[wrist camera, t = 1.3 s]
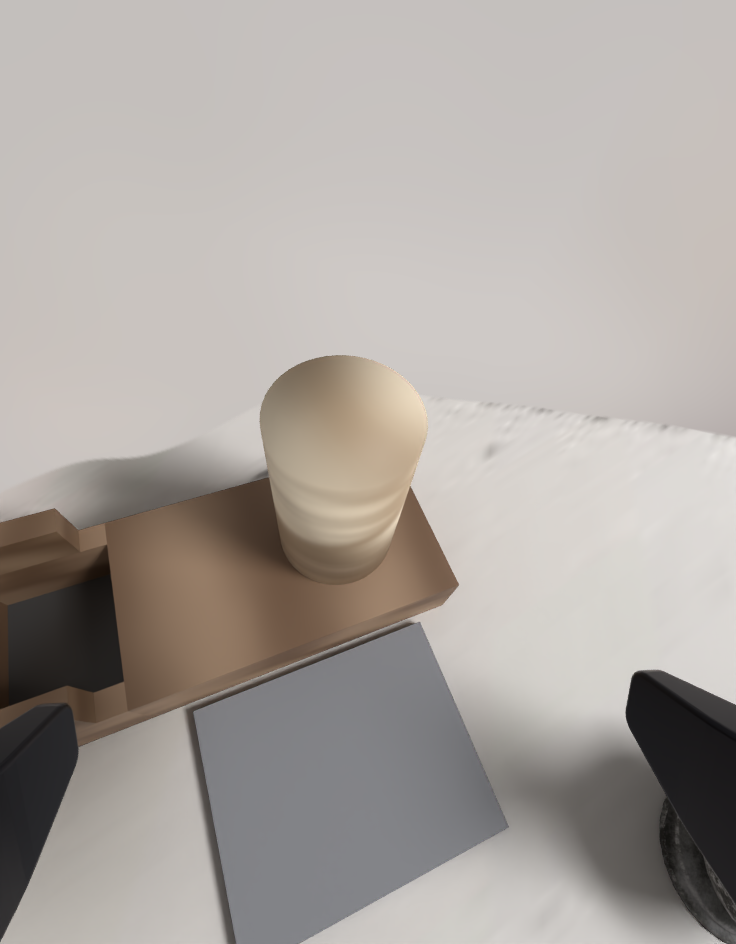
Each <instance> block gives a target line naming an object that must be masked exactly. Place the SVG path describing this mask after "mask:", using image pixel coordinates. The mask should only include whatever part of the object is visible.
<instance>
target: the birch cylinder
mask: <svg viewBox="0 0 736 944" xmlns="http://www.w3.org/2000/svg"><path fill="white" fill-rule="evenodd" d="M260 429H261V435H262V440H263V446H264V451H265V457H266V462H267V468H268V473H269V479H270V485H271V490H272V496H273V501H274V507H275V512H276V518H277V523H278V529H279V534H280V540H281V545H282V548H283V551H284V553H285V555H286V557H287V559H288V560H289V562H290V563H291V564H292V566H293V567H294V568H295V569H296V570H297V571H298V572H300V573H301V574H302V575H304V576H305V577H307V578H309V579H311V580H313V581H316V582H319V583H323V584H330V585H343V584H348V583H352V582H356V581H358V580H360V579H363V578H365V577H366V576H368V575H369V574H371V573H372V572H373V571H374V570H376V569H377V567H378V566H379V565H380V564H381V563H382V561H383V560H384V558H385V556H386V554H387V552H388V550H389V547H390V544H391V541H392V538H393V535H394V532H395V529H396V526H397V523H398V520H399V517H400V514H401V511H402V508H403V505H404V502H405V499H406V496H407V494H408V491H409V488H410V485H411V482H412V479H413V476H414V473H415V470H416V467H417V464H418V461H419V458H420V455H421V452H422V449H423V446H424V443H425V440H426V436H427V429H428V422H427V414H426V410H425V407H424V404H423V402H422V400H421V398H420V396H419V394H418V393H417V392H416V390H415V389H414V388H413V386H412V385H411V384H410V383H409V382H408V381H407V380H406V379H405V378H403V377H402V376H401V375H400V374H398V373H397V372H395V371H394V370H392V369H390V368H389V367H387V366H385V365H383V364H380V363H378V362H375V361H372V360H369V359H366V358H360V357H355V356H346V355H342V356H341V355H336V356H325V357H320V358H315V359H312V360H308V361H305V362H303V363H301V364H298V365H296V366H295V367H293V368H291V369H289V370H288V371H287V372H285V373H284V374H283V375H281V376H280V377H279V378H278V379H277V380H276V381H275V382H274V383H273V385H272V386H271V387H270V388H269V390H268V392H267V393H266V395H265V398H264V400H263V402H262V406H261V410H260Z"/></svg>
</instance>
